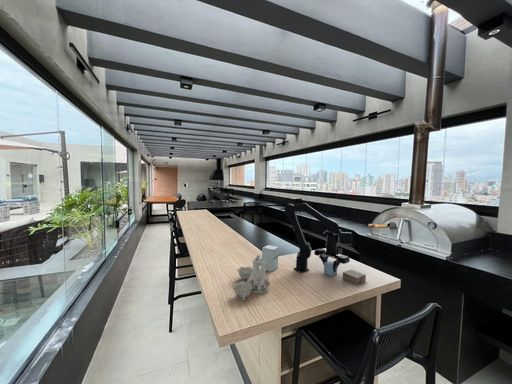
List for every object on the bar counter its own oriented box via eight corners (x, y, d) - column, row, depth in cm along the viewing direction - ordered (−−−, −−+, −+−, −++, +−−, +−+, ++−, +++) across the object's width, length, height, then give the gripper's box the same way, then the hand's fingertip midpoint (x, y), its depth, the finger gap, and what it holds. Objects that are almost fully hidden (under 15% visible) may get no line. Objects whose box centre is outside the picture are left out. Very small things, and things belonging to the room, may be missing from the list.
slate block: (331, 276, 117) (332, 265, 117) (323, 273, 121) (324, 262, 121) (336, 274, 120) (337, 263, 120) (328, 271, 124) (329, 260, 124)
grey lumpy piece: (235, 278, 114) (233, 247, 114) (266, 275, 115) (264, 245, 115) (233, 309, 86) (230, 268, 86) (274, 305, 87) (272, 264, 87)
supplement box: (272, 272, 120) (273, 249, 120) (260, 269, 124) (261, 247, 124) (278, 268, 127) (279, 246, 126) (267, 265, 130) (267, 244, 130)
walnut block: (357, 285, 108) (357, 277, 108) (342, 279, 114) (343, 272, 114) (365, 282, 112) (365, 274, 112) (351, 276, 119) (351, 269, 119)
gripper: (355, 244, 118) (353, 273, 118) (325, 237, 132) (324, 262, 133) (344, 248, 111) (343, 278, 111) (314, 240, 125) (313, 266, 126)
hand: (330, 270), depth 121 cm, fingers closed on slate block, 5 cm apart
